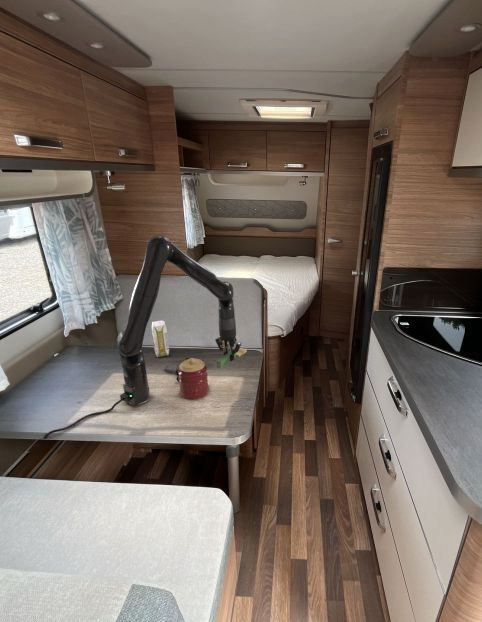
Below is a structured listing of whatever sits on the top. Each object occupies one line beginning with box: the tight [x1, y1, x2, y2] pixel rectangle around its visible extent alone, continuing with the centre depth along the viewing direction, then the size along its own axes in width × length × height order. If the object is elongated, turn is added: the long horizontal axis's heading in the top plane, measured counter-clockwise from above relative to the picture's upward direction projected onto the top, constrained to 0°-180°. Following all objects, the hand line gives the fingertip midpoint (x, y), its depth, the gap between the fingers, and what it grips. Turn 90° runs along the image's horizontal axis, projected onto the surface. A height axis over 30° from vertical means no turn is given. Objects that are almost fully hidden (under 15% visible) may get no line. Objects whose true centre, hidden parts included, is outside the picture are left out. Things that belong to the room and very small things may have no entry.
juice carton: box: [151, 320, 170, 358], centre depth 188 cm, size 8×9×19 cm
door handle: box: [164, 357, 205, 382], centre depth 174 cm, size 3×20×16 cm
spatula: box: [216, 347, 248, 369], centre depth 158 cm, size 19×6×3 cm, turn 154°
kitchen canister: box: [177, 357, 210, 400], centre depth 154 cm, size 13×13×18 cm
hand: (229, 359), depth 157 cm, fingers closed on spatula, 2 cm apart
